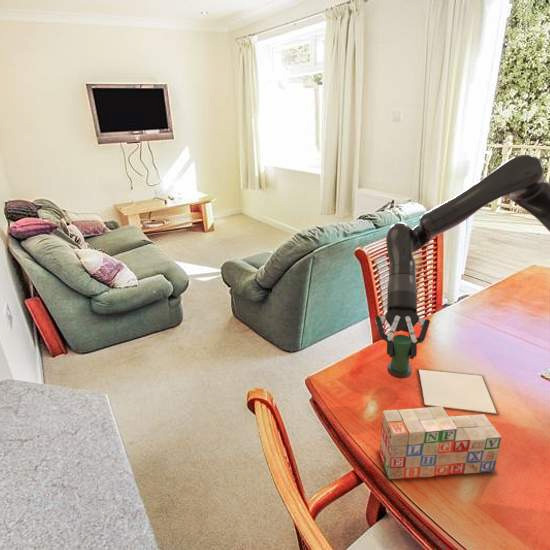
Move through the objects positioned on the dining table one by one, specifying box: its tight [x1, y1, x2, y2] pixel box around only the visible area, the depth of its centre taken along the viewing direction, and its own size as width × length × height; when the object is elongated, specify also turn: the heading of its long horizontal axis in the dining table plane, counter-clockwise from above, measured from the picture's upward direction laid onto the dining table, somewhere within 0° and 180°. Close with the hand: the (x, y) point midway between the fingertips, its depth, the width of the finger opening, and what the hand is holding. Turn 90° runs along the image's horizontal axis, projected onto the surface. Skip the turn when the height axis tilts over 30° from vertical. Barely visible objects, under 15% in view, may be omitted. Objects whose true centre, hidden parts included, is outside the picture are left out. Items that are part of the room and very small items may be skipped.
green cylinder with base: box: [386, 334, 413, 380], centre depth 97 cm, size 6×6×10 cm
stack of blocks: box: [379, 406, 502, 480], centre depth 75 cm, size 21×6×12 cm, turn 92°
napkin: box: [418, 369, 498, 415], centre depth 97 cm, size 16×14×1 cm
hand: (401, 357), depth 95 cm, fingers closed on green cylinder with base, 4 cm apart
